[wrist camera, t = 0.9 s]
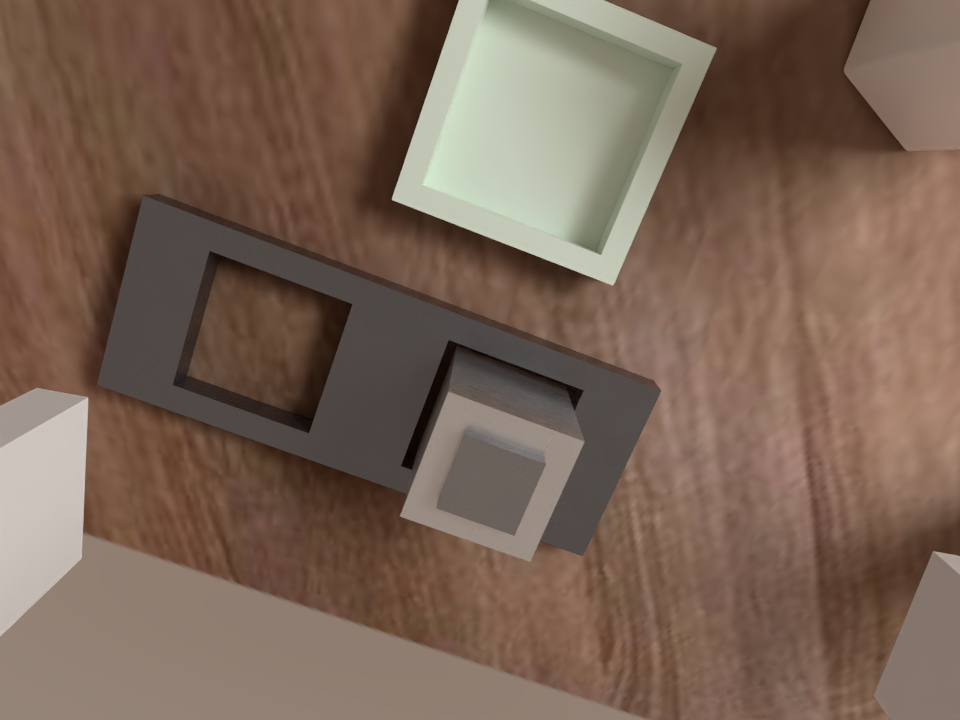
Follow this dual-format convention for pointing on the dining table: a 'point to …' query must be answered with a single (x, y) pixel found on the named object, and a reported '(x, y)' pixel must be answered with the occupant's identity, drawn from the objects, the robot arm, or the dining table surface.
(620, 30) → the parts tray
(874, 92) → the jar
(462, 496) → the square stepped knob
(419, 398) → the grey double switch frame
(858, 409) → the dining table surface
